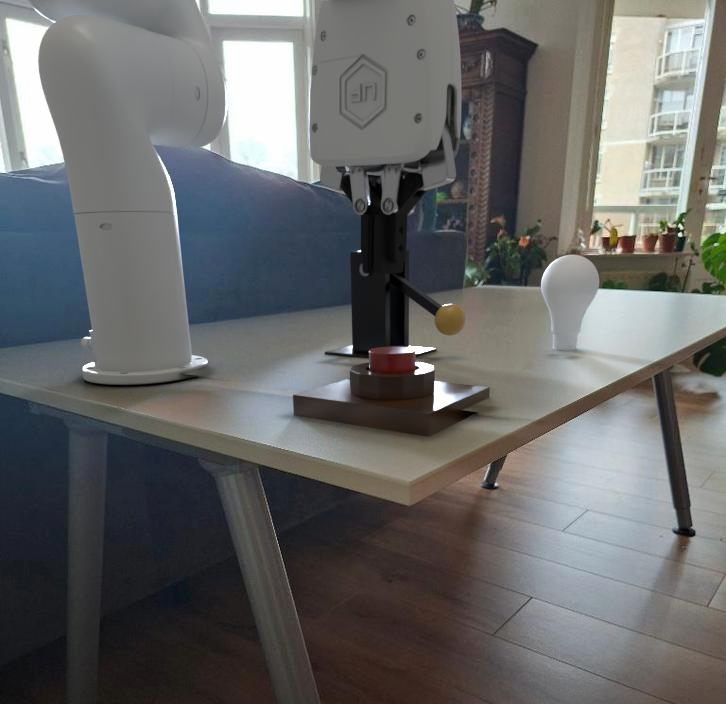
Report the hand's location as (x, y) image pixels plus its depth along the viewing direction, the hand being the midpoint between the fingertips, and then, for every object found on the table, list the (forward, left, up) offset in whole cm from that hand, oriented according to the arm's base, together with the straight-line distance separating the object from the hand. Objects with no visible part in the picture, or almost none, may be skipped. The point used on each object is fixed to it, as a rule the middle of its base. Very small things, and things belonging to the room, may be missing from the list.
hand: (383, 272), depth 50 cm
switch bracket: (-13, +20, -11) cm, 26 cm away
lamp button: (+1, 0, -7) cm, 7 cm away
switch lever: (-10, +20, -4) cm, 23 cm away
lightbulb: (+4, +32, -11) cm, 34 cm away
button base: (+1, 0, -11) cm, 11 cm away
